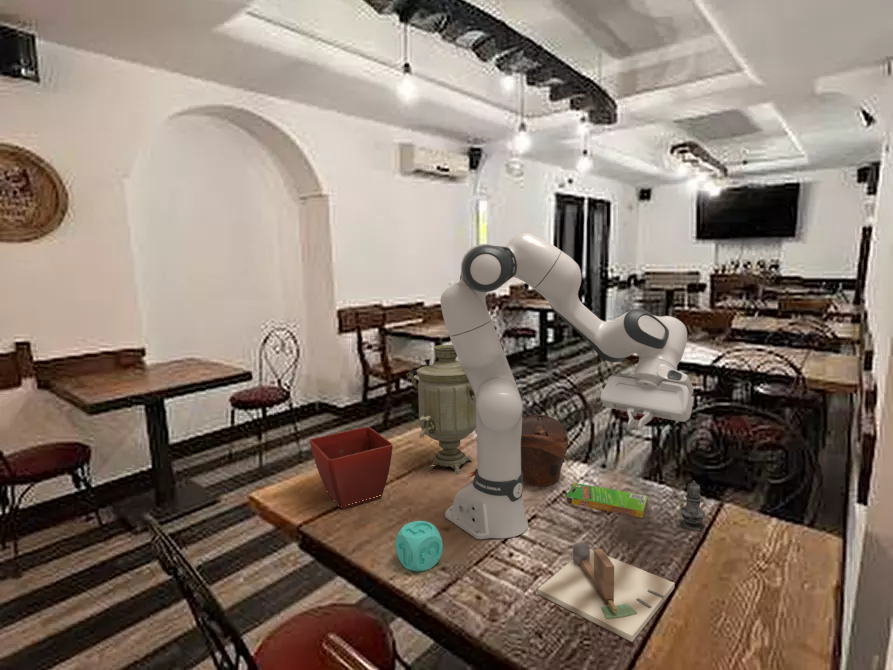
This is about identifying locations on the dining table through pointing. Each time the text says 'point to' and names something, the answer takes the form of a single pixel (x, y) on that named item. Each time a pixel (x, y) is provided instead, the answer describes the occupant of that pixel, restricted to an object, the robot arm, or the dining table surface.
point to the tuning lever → (597, 571)
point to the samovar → (445, 405)
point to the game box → (608, 499)
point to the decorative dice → (418, 545)
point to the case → (542, 449)
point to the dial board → (632, 596)
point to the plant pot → (353, 465)
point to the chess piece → (692, 509)
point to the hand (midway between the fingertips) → (634, 428)
